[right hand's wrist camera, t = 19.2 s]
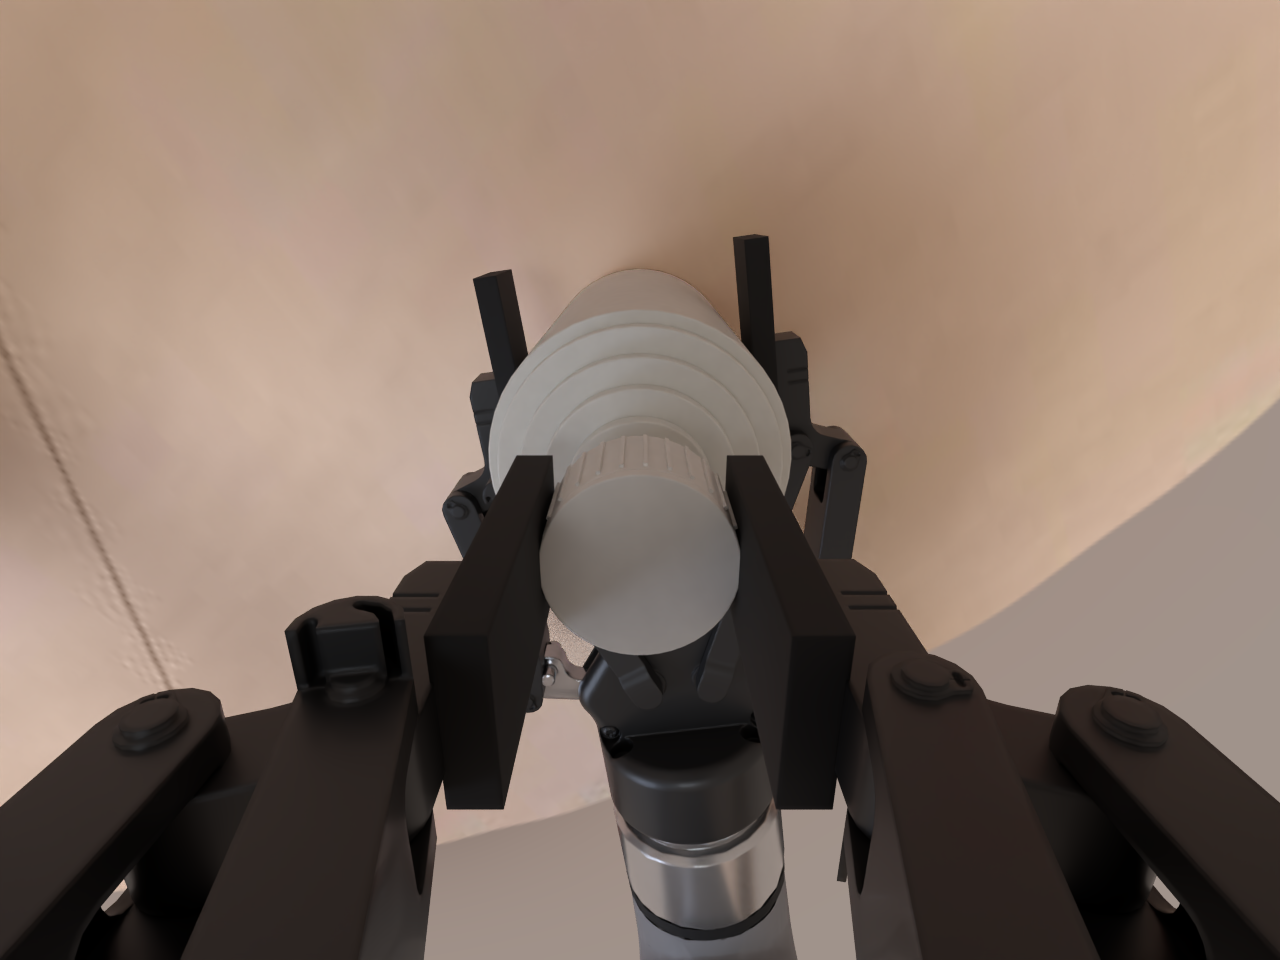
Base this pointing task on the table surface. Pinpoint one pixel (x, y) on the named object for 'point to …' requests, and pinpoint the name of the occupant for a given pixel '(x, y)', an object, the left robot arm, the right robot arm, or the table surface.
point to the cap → (640, 547)
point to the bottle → (640, 381)
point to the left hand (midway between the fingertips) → (620, 256)
